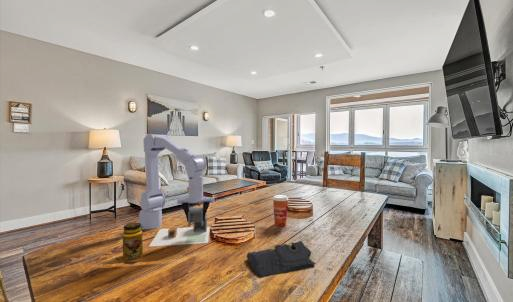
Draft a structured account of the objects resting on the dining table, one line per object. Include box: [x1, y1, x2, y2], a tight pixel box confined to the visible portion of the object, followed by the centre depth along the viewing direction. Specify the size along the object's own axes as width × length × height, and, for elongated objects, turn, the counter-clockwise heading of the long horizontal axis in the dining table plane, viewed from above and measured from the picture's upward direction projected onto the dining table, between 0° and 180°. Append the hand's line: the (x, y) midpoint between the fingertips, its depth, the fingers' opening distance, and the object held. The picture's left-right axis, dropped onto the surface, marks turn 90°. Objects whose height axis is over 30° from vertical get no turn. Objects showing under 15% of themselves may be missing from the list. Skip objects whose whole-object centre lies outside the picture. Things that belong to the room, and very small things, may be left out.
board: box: [148, 225, 211, 248], centre depth 99 cm, size 22×18×1 cm
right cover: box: [193, 213, 208, 232], centre depth 105 cm, size 6×6×6 cm
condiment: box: [122, 221, 144, 265], centre depth 82 cm, size 7×8×12 cm
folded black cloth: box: [246, 240, 316, 278], centre depth 80 cm, size 15×22×5 cm
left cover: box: [187, 207, 204, 228], centre depth 96 cm, size 6×6×6 cm
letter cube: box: [168, 227, 178, 238], centre depth 98 cm, size 3×3×3 cm
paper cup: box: [272, 194, 289, 228], centre depth 115 cm, size 8×8×14 cm
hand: (196, 220), depth 96 cm, fingers closed on left cover, 5 cm apart
